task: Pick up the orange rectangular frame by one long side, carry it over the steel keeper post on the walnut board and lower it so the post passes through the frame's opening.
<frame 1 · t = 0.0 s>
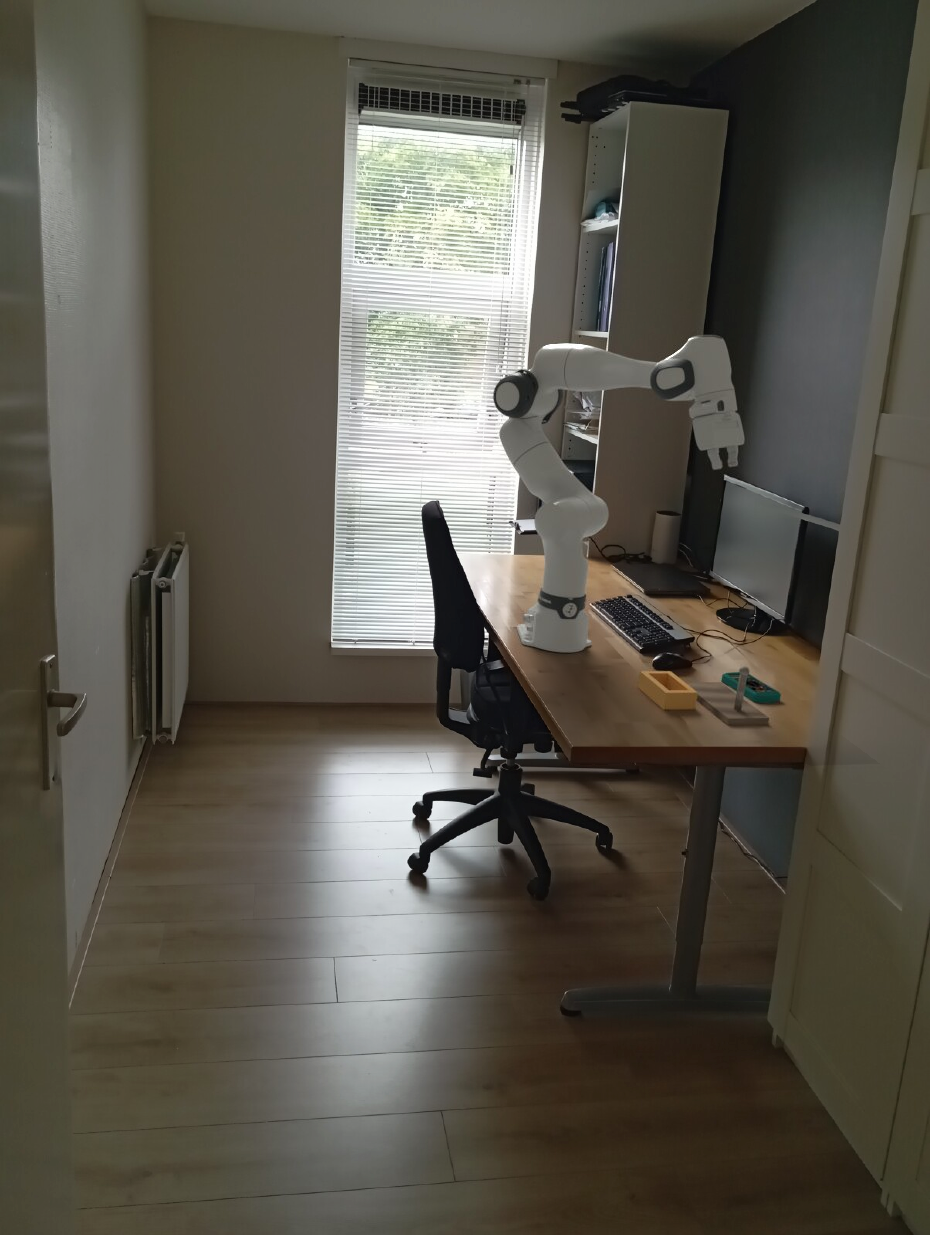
hand: (725, 467, 230), 52 cm above the table, tool tilted 20°, fingers open, 8 cm apart
keeper board: (723, 705, 232), on the table
digital multimeter: (749, 693, 244), on the table
orange rectangular frame: (665, 698, 233), on the table
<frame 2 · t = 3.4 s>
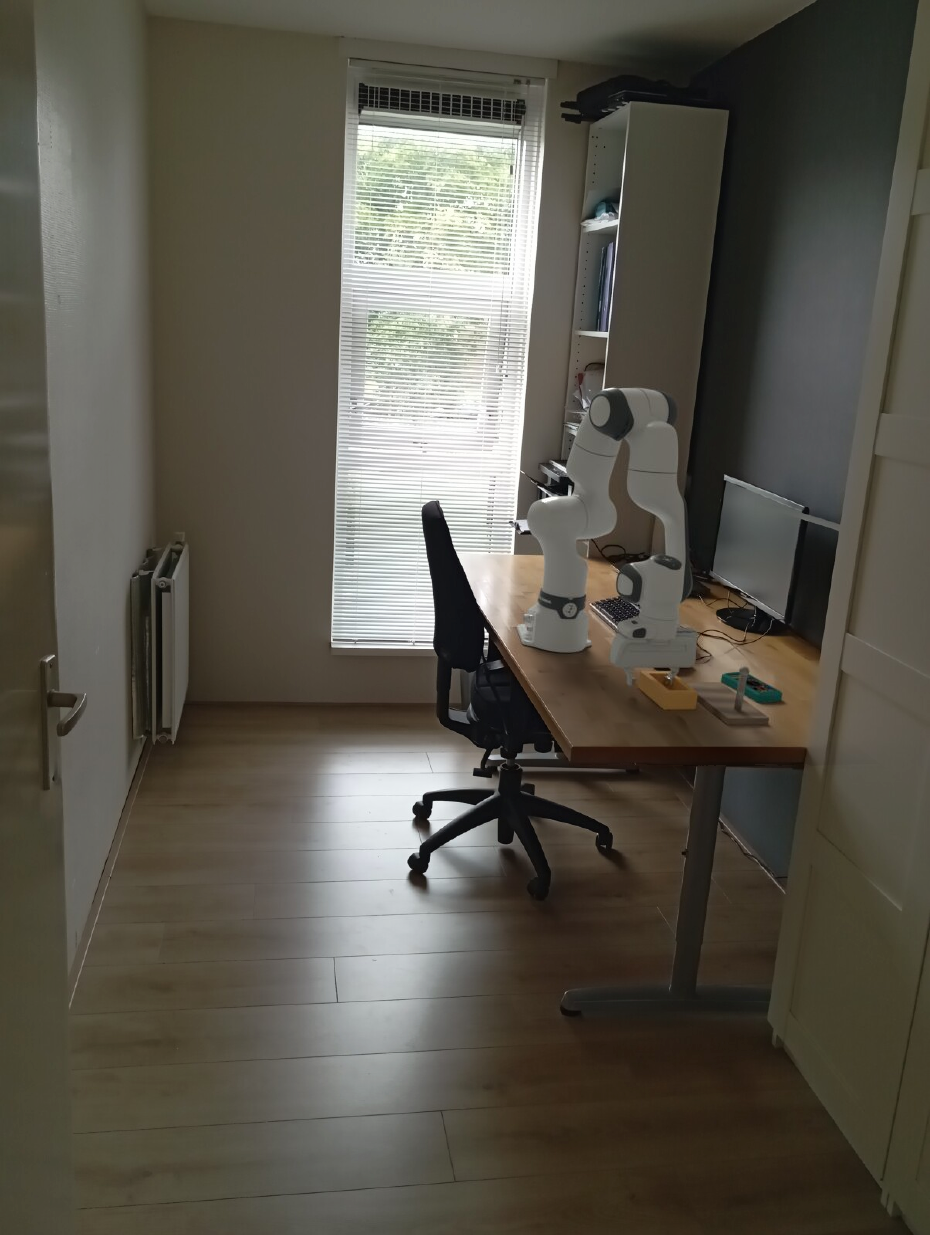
hand: (649, 684, 235), 2 cm above the table, tool pointing down, fingers open, 8 cm apart
orange rectangular frame: (665, 698, 233), on the table, touching gripper
everything else where it was.
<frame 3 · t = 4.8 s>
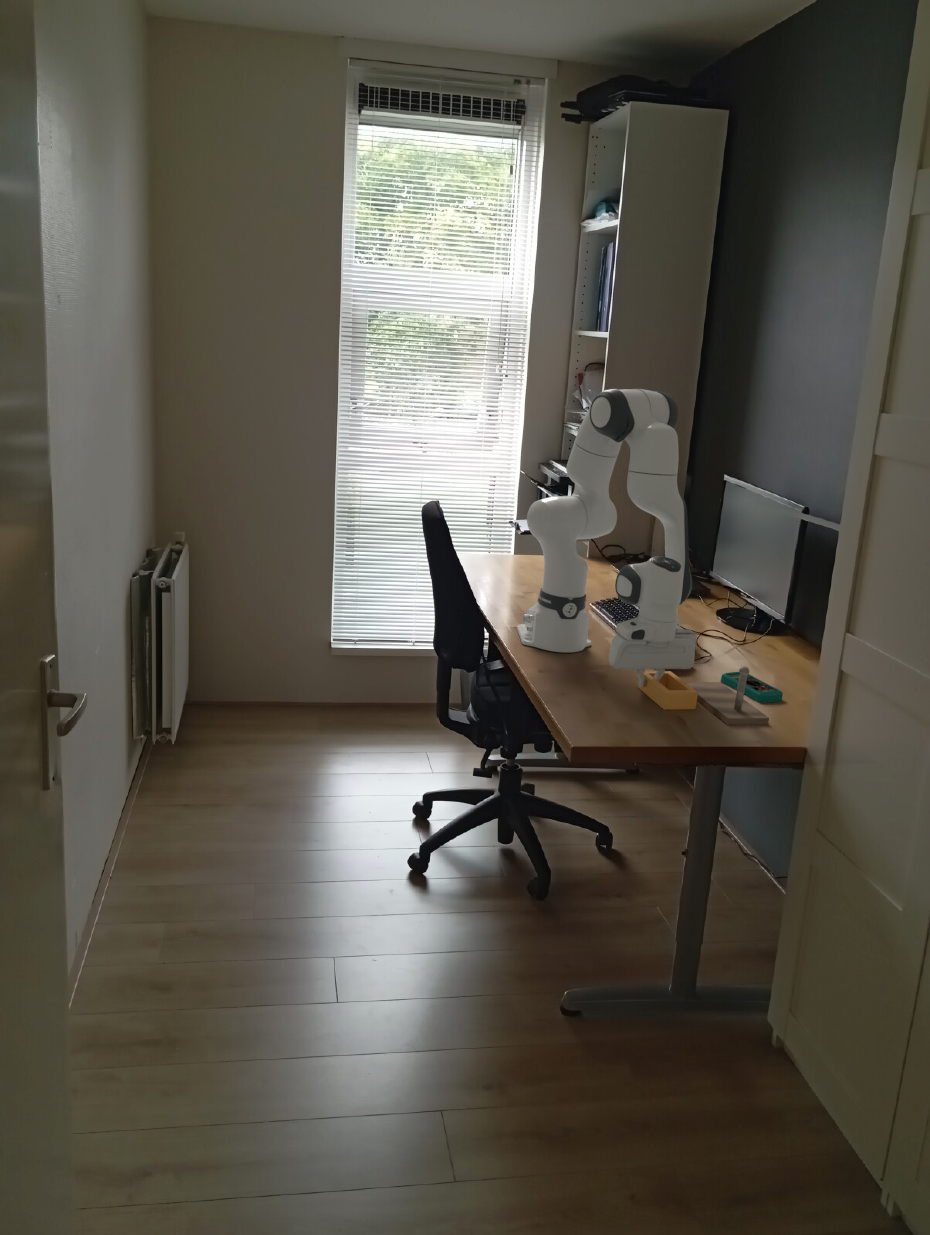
hand: (647, 686, 235), 2 cm above the table, tool pointing down, fingers closed on orange rectangular frame
orange rectangular frame: (665, 697, 233), on the table, touching gripper
everything else where it was.
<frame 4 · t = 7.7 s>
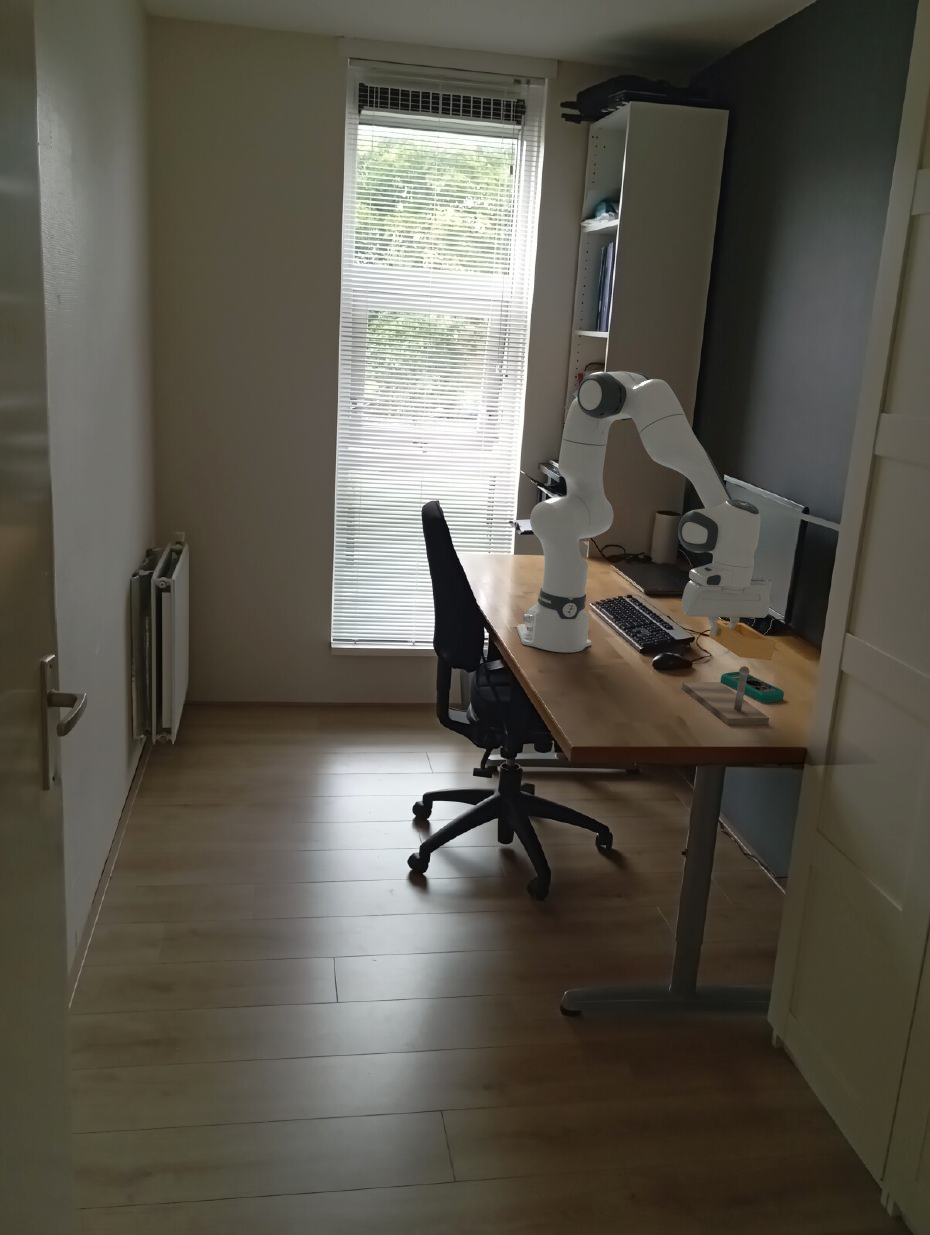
hand: (720, 635, 227), 17 cm above the table, tool pointing down, fingers closed on orange rectangular frame
orange rectangular frame: (739, 648, 225), point 15 cm above the table, tilted 5°, touching gripper
everything else where it was.
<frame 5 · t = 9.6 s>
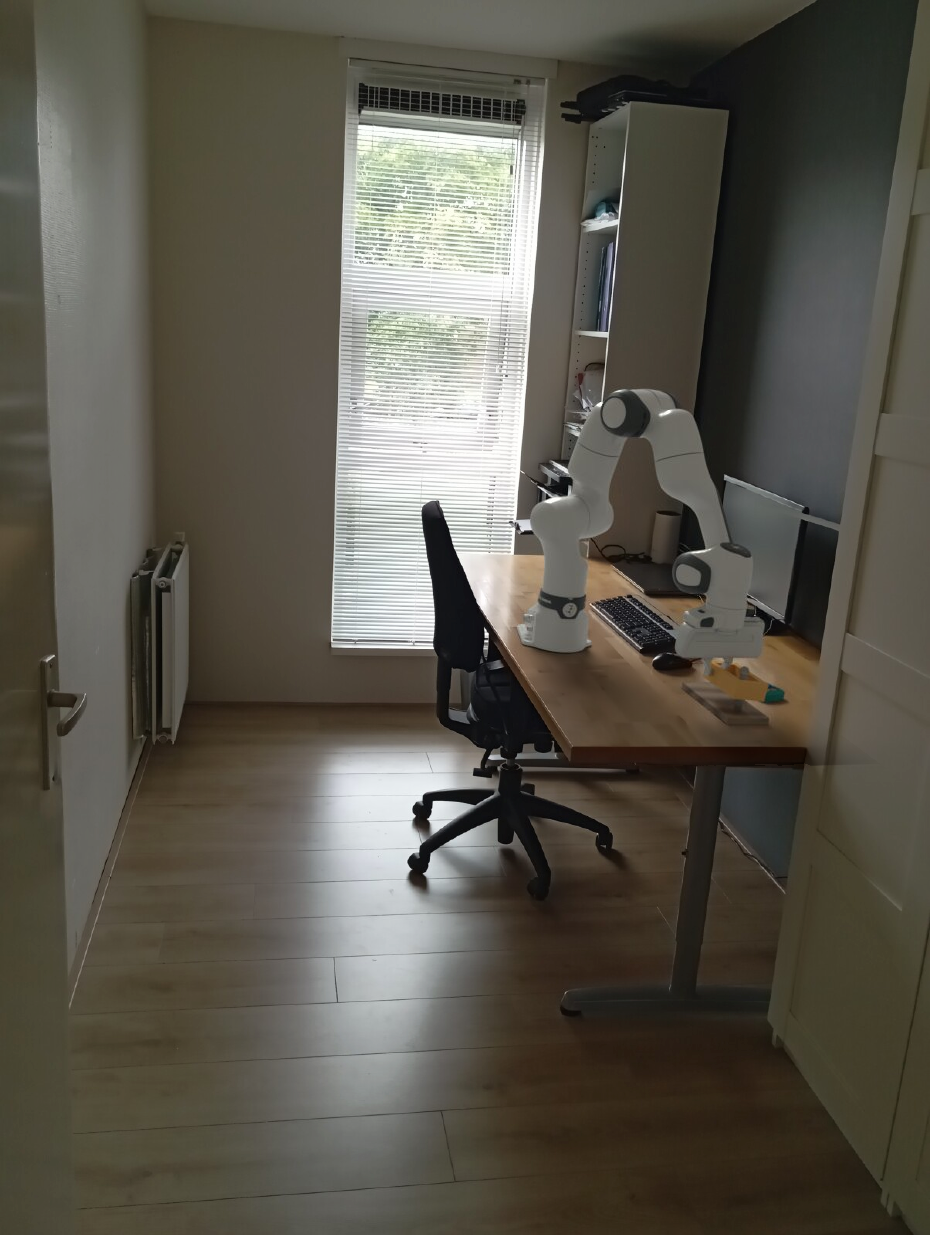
hand: (714, 675, 230), 7 cm above the table, tool pointing down, fingers closed on orange rectangular frame
orange rectangular frame: (732, 688, 228), point 5 cm above the table, tilted 6°, touching gripper
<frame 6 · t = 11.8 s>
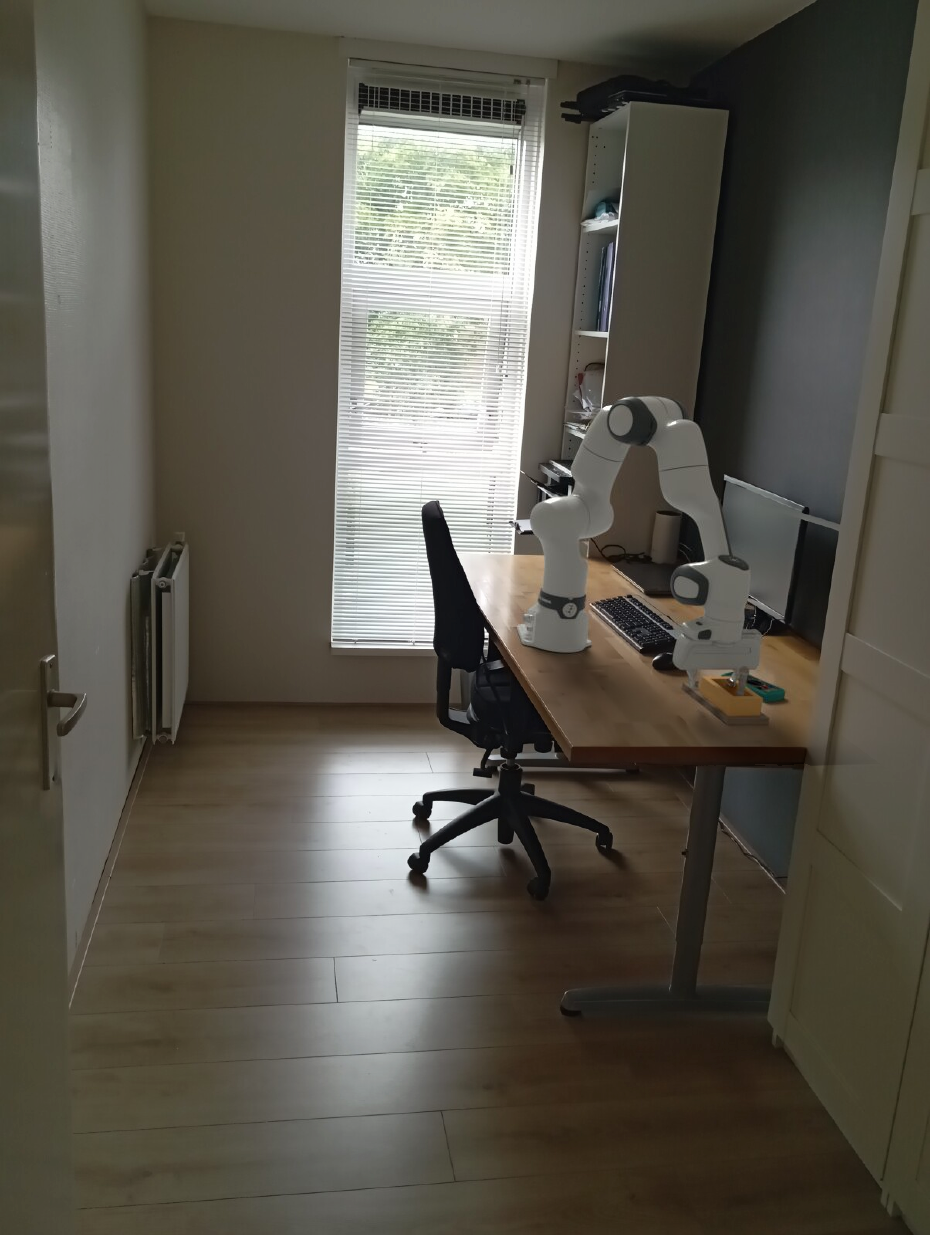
hand: (711, 687, 231), 4 cm above the table, tool pointing down, fingers open, 8 cm apart
orange rectangular frame: (728, 703, 229), point 1 cm above the table, touching gripper, keeper board
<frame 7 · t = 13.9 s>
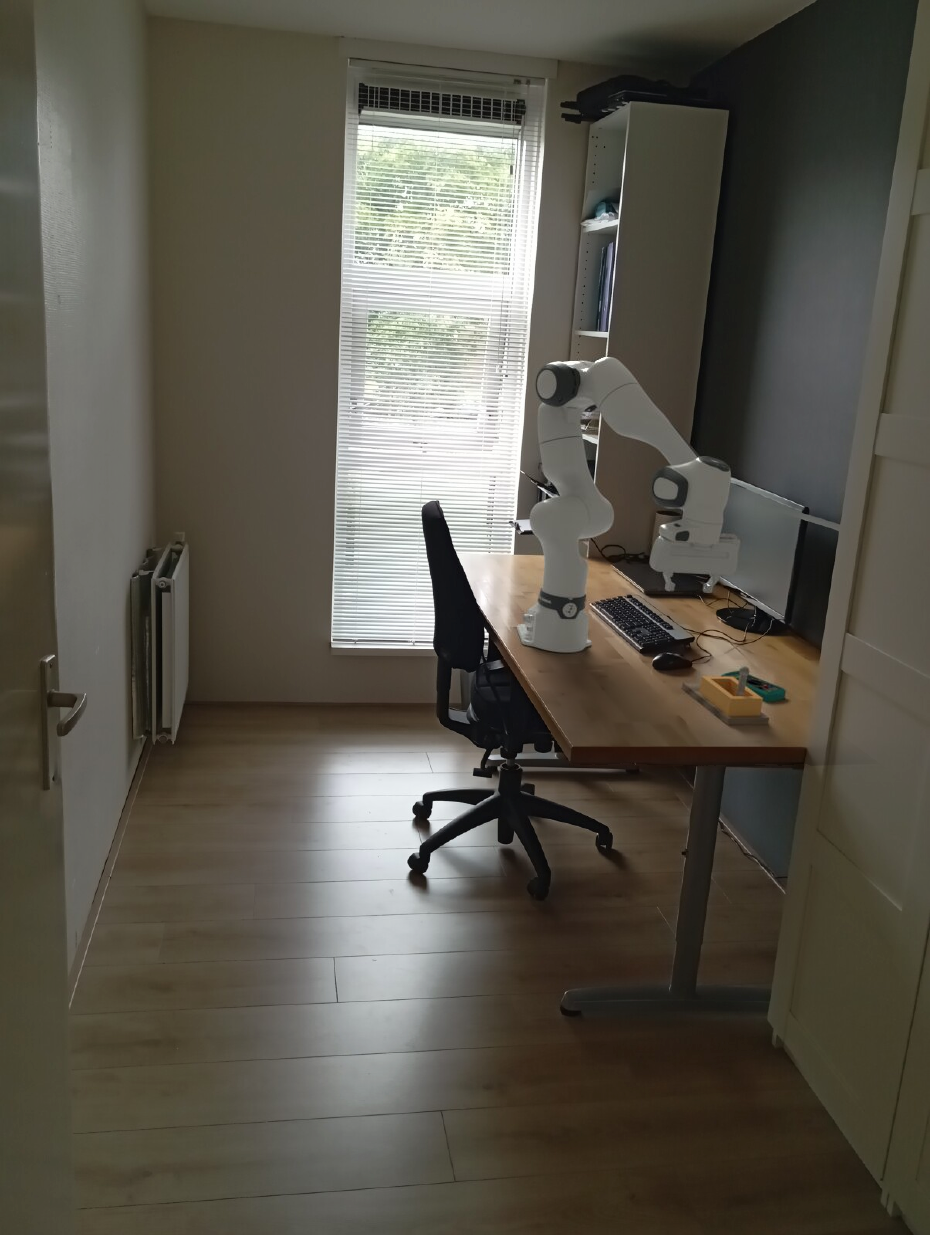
hand: (688, 591, 229), 25 cm above the table, tool pointing down, fingers open, 8 cm apart
orange rectangular frame: (728, 703, 229), point 1 cm above the table, touching keeper board
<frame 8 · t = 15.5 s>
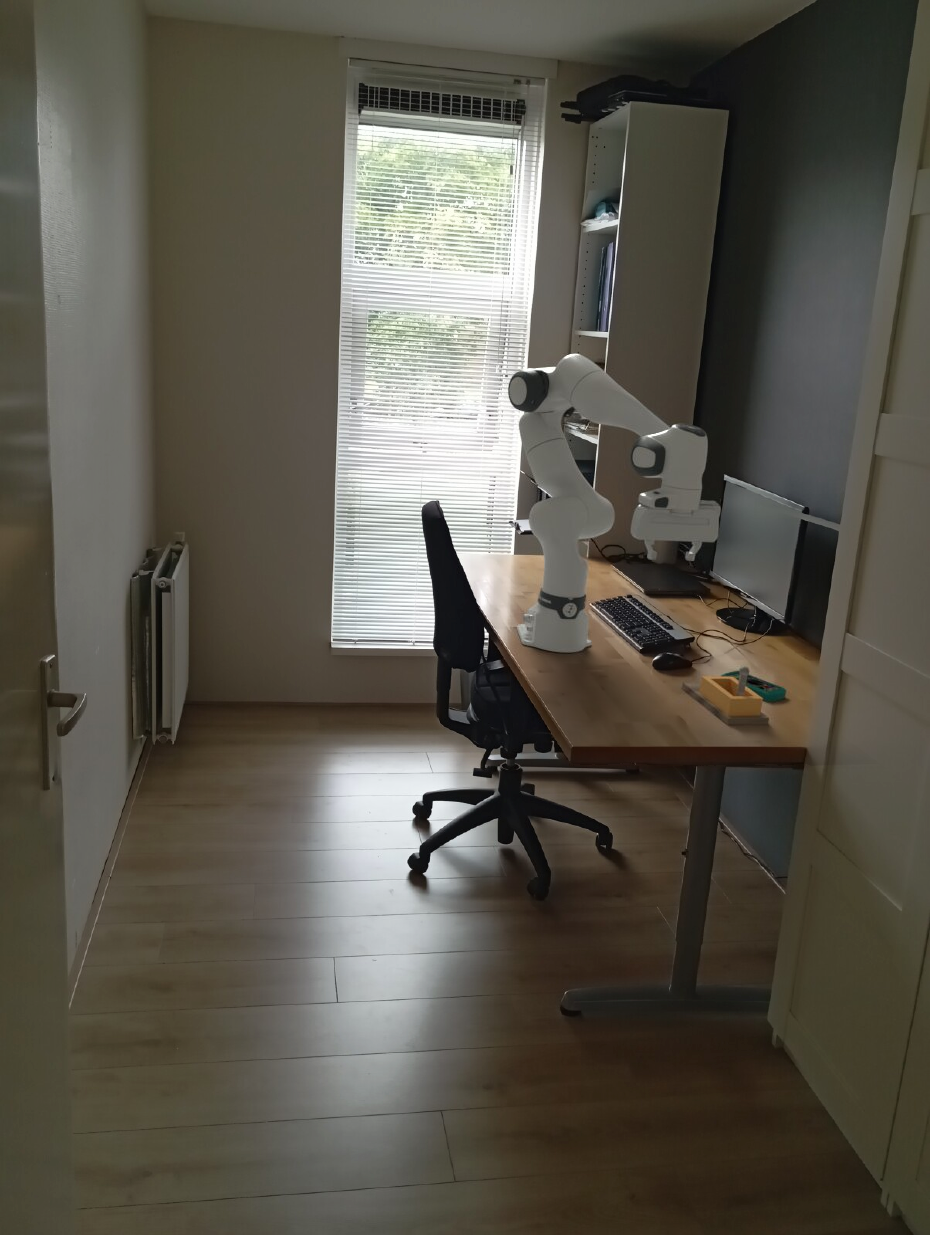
hand: (670, 559, 230), 31 cm above the table, tool pointing down, fingers open, 8 cm apart
at the end: orange rectangular frame 1.6 cm from the target spot on the keeper board, point 1.5 cm above the keeper board's base; orange rectangular frame tilted 0°; the gripper is holding nothing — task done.
